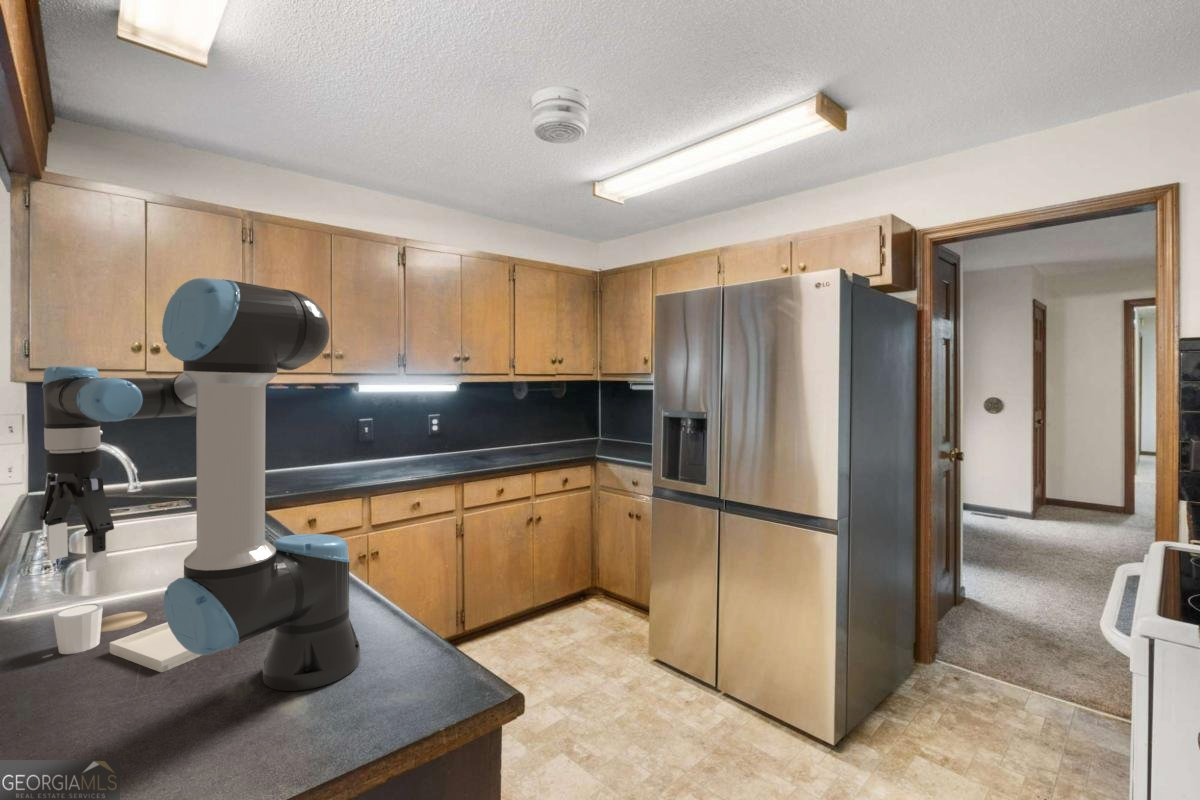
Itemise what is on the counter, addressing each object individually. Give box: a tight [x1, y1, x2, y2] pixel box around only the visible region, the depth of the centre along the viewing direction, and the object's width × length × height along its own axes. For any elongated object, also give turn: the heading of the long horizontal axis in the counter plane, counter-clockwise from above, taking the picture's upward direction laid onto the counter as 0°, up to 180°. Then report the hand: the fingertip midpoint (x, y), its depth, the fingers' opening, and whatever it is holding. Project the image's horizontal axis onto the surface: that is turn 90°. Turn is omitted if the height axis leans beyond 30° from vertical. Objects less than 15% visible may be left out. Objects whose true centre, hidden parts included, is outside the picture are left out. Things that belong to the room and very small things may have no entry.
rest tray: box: [109, 621, 203, 674], centre depth 105 cm, size 16×12×2 cm
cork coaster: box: [100, 611, 148, 633], centre depth 115 cm, size 9×9×1 cm
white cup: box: [52, 602, 104, 655], centre depth 105 cm, size 7×7×7 cm
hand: (76, 563), depth 104 cm, fingers open, 13 cm apart
